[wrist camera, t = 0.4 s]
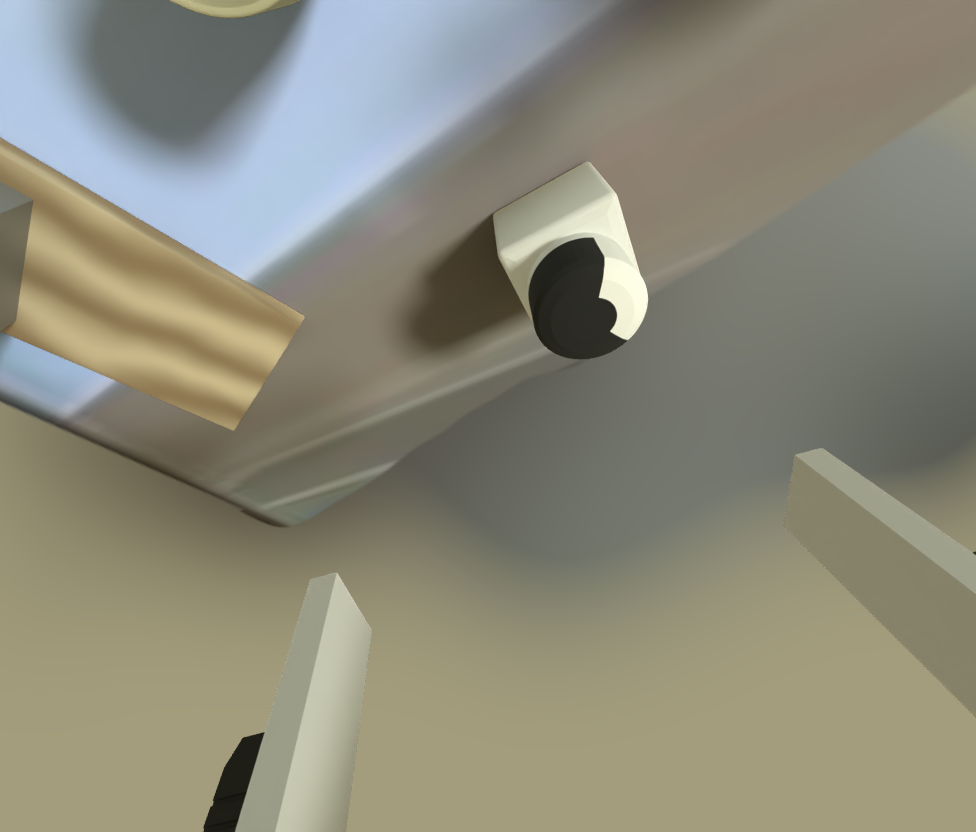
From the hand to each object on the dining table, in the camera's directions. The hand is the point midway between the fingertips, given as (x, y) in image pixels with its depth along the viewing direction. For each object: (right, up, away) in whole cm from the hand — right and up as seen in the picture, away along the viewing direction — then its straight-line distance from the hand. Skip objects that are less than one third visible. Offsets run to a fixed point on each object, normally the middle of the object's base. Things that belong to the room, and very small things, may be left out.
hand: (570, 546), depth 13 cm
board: (-36, +15, +22) cm, 45 cm away
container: (+3, +18, +22) cm, 28 cm away
